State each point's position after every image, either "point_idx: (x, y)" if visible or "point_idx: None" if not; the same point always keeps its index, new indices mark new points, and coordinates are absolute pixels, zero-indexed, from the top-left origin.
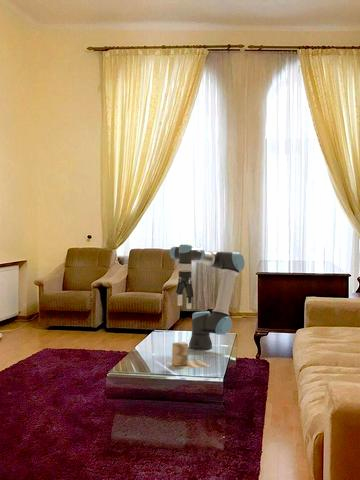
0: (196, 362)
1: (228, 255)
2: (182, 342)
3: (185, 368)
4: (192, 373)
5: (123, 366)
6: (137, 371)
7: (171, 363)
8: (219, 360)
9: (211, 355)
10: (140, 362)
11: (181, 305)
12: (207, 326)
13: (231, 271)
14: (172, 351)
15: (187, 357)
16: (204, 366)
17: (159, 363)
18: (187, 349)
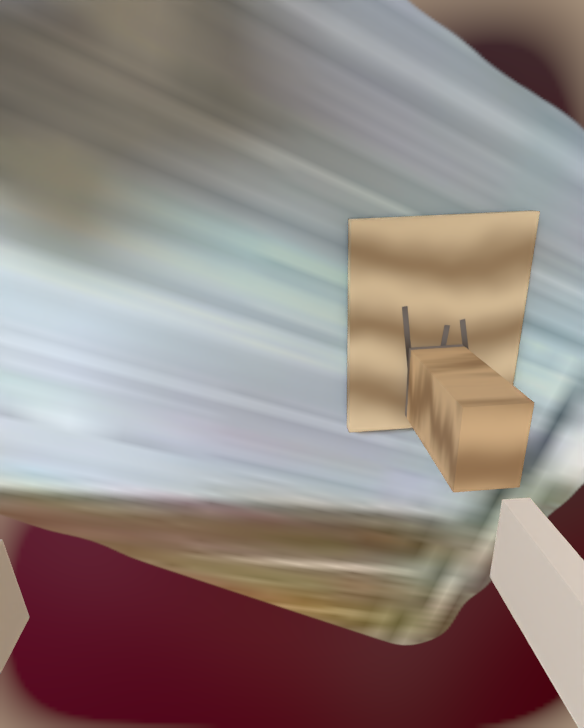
0: (413, 261)
1: None
2: (472, 424)
3: (513, 374)
4: (562, 349)
5: (310, 599)
6: (414, 565)
7: (381, 411)
8: (347, 25)
9: (168, 11)
10: (255, 525)
11: (4, 554)
12: None
13: None
14: (432, 456)
15: (484, 362)
16: (523, 250)
17: (304, 447)
18: (510, 385)
